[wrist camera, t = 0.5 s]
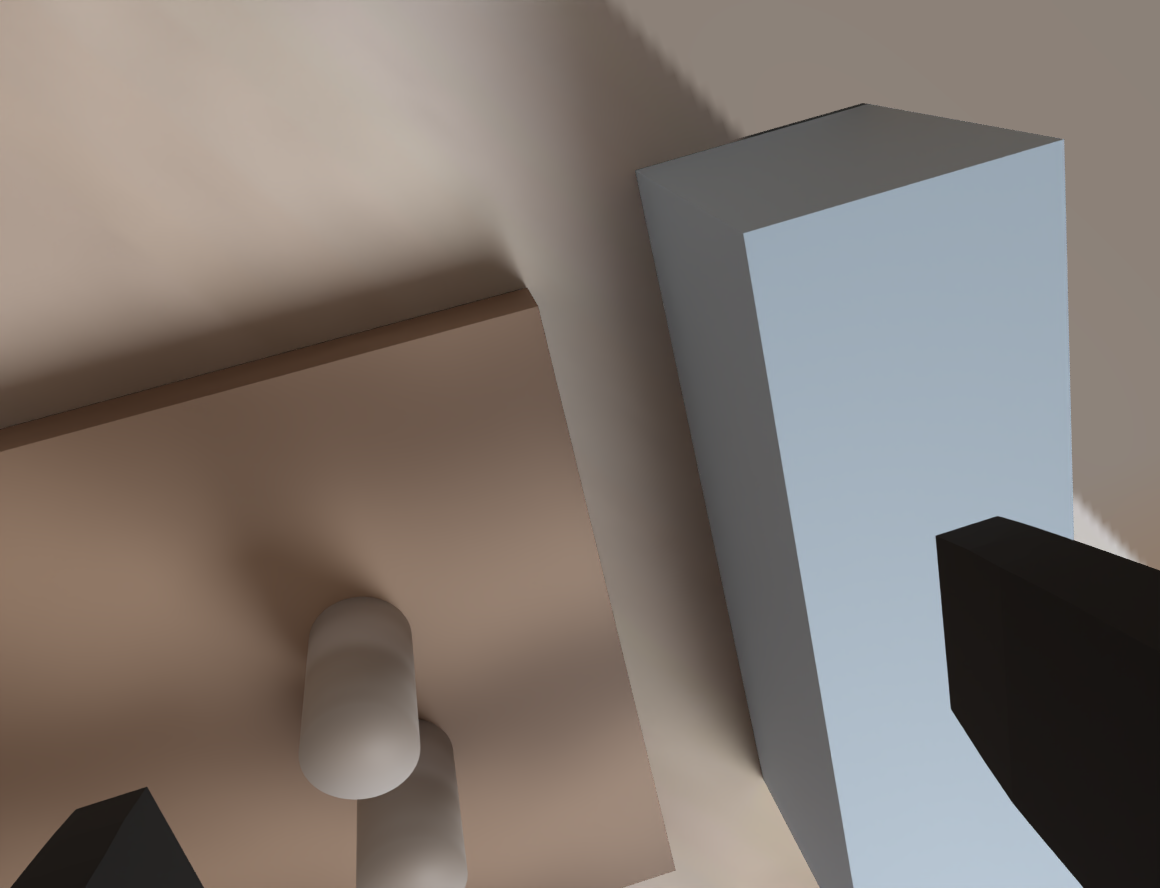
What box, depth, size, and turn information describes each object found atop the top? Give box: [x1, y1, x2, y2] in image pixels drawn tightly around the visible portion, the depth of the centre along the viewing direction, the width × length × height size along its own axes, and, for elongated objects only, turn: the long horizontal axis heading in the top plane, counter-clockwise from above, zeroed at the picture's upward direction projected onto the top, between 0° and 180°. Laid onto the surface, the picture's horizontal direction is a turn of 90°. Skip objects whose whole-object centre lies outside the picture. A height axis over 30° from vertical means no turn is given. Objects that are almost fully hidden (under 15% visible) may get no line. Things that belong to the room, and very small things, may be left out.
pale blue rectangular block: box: [635, 103, 1082, 888], centre depth 18 cm, size 14×4×6 cm, turn 13°
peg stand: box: [0, 288, 675, 888], centre depth 17 cm, size 13×19×4 cm
